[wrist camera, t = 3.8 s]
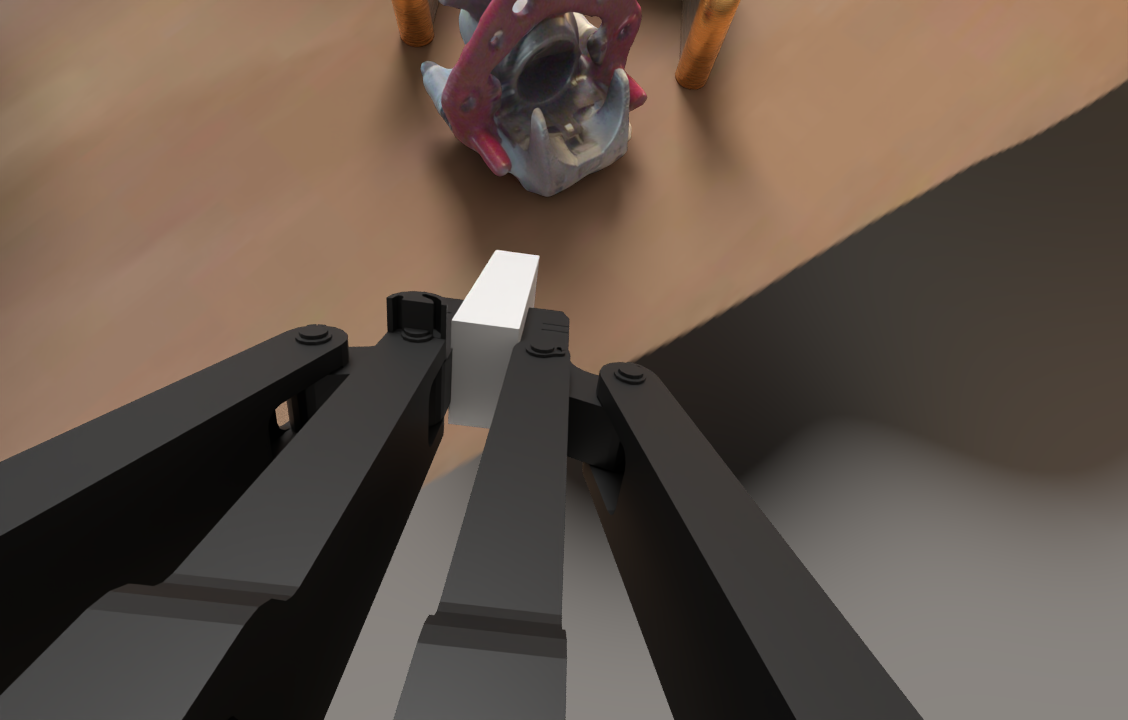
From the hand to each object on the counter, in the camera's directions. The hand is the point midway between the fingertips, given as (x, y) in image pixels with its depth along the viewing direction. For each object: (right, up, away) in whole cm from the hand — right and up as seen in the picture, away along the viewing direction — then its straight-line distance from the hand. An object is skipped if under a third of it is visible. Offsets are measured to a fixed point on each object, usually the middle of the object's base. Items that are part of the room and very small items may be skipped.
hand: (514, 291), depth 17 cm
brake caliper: (0, +11, +11) cm, 16 cm away
